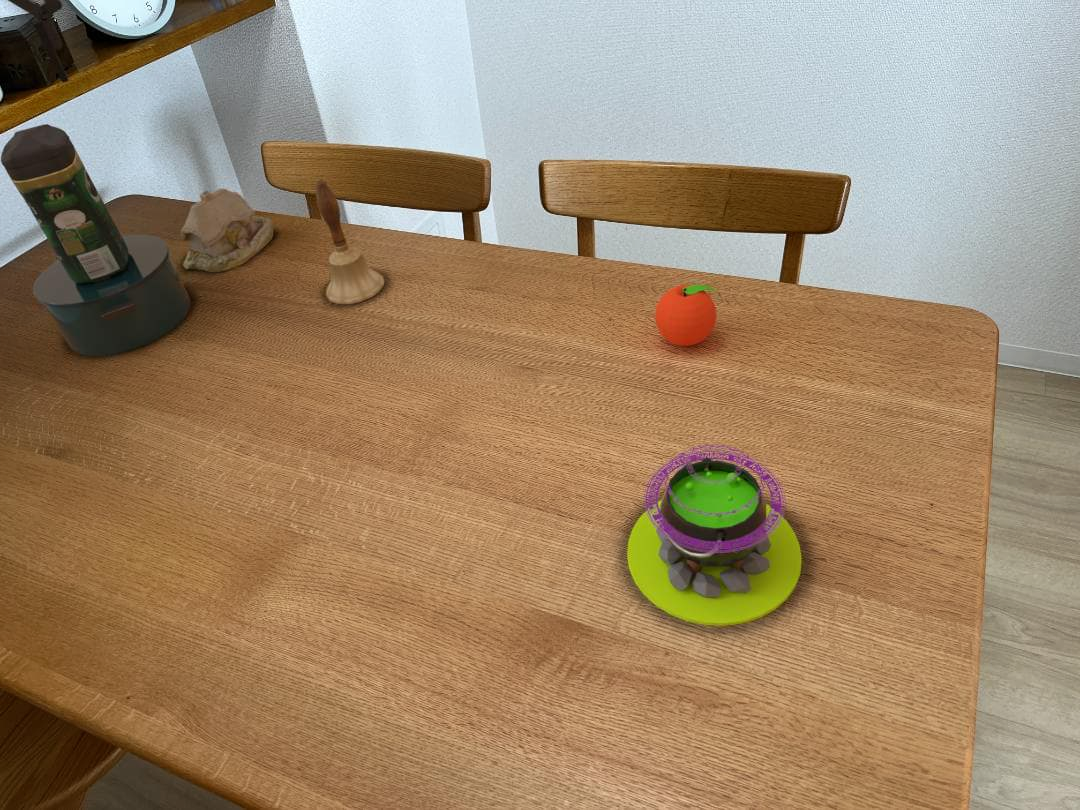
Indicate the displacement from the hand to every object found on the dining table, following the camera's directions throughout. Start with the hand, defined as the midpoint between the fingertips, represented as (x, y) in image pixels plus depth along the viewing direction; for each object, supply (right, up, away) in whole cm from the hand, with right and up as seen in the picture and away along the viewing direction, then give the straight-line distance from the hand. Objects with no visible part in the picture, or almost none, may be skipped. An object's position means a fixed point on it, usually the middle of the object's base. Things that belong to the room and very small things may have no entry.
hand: (4, 95), depth 94 cm
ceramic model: (+14, -12, +33) cm, 38 cm away
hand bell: (+37, -20, +19) cm, 46 cm away
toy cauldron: (+78, -49, -23) cm, 95 cm away
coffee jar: (+3, -18, +15) cm, 23 cm away
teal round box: (+4, -24, +21) cm, 32 cm away
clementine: (+80, -28, +1) cm, 85 cm away
